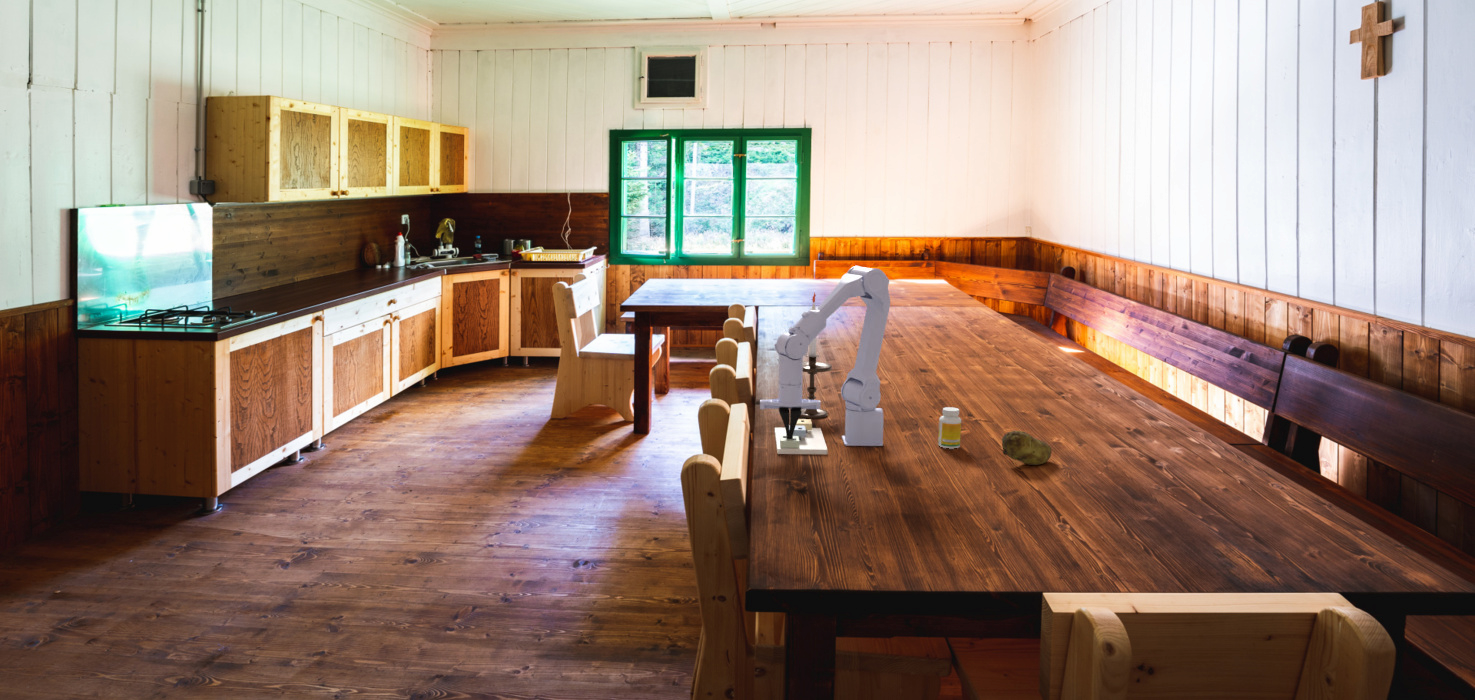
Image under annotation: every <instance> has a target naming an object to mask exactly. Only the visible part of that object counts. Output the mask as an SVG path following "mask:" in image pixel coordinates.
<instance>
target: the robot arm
mask: <svg viewBox="0 0 1475 700" xmlns="http://www.w3.org/2000/svg"><path fill="white" fill-rule="evenodd" d="M889 284H890V279H889V278H888V277H887V275H886V273H885V272H884V271H883V270H881V269H880V268H876V267H875V268H872V267H871V268H870V267H865V266H860V265H855V266H852V267H851V268H849V269H848V270H847V272H846V273H844V274H843V275H842V276H841V278H840V281H839V282H838V284H836V286H835V287H834V288H833V289H832V290H831V292H829V294H828V295H827V296H826V298H824V300H823V301H822V302H821V303H820V304H819V306H818V307H816V308H817V309H816V310H810V309H809V310H807V311H803V313H801V318H800V319H799V320H798V321H797V322H796V323H795V324H794V325H793V326H790V327H789V329H788V332H784V333H782V334H780V335H779V336H778V338H777V341H776V342H775V344H774V349H775V351H776V353H777V355H778V396H777V397H778V398H771V399H767V398H766V399H760V400H759V410H765V409H771V410H772V409H773V410H776V409H778V412H779V416H780V418H781V420H782V423H783V425H784V428H785V429H786V437H787V439H793V433H794V429H795V426H796V424H797V421H798V419H800V415H801V409H816V410H820V409H821V400H820V399H814V400H809V399H808V398H807V399H806V398H803V374H804V372H803V362H804V357H805V356H806V355H807V354H808V352H809V351H808V350H809V346H810V343H811V342H812V341H813V340H814V339H815V338H816V339H817V337H818V336H819V334H820V333H821V332H822V331H824V329H825V328H826V327H827V319H829V317H830V316H832V315H833V314H834V313H835V312H836V311H837V310H838V309H839V308H841V306H842V305H844V303H846V302H847V301H848V300H849V299H850V298H858V297H860V298H861V300H862V302H863V303H864V305H866V310H865V315H864V318H863V319H864V320H863V324H862V325H863V326H862V330H861V335H860V339H859V344H858V348H857V354H856V358H855V361H854V362H855V363H854V367H853V368H852V369H851V370H849V372H848V373H847V376H846V379H845V381H844V382H843V383H842V386H841V388H840V394H841V398H842V399H843V400H844V401H845V403H844V405H845V417H844V418H845V421H844V422H845V423H844V435H841V439H842V443H843V444H844V446H846V447H847V446H849V447H859V446H860V447H883V446H884V410H883V408H881V407H877V406H878V405H879V403H880V401H881V395H882V394H881V390H880V389H881V388H880V387H881V380H880V378H879V376H878V374H877V369H878V364H879V359H880V356H881V355H880V354H881V350H882V345H883V340H884V336H885V331H886V326H887V323H888V322H887V321H888V316H889V312H890V308H891V299H890V297H891V296H890V293H889ZM789 425H790V431H789Z"/></svg>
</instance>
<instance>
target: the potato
mask: <svg viewBox="0 0 1475 700" xmlns="http://www.w3.org/2000/svg"><path fill="white" fill-rule="evenodd" d="M1001 444H1002V450H1003V451H1002V454H1004V455H1005V456H1007V457H1009V458H1010V459H1011V460H1014V461H1018V462H1021V463H1023V464H1024V465H1025V464H1026V465H1029V466H1040V465H1042V464H1045V463H1046V462H1048V461H1049V460H1050V458H1051V457H1052V451H1053V450H1052V447H1051V446H1050V445H1049V444H1048V443H1047V442H1046V441H1043V440H1040V439H1038V438H1036V437H1034V436H1032V434H1030V433H1028V432H1025V431H1022V430H1012V431H1010V432H1007V433H1004V435H1003V436H1002V439H1001Z"/></svg>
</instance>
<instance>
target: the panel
mask: <svg viewBox="0 0 1475 700" xmlns="http://www.w3.org/2000/svg"><path fill="white" fill-rule="evenodd" d="M780 436H786V429H785V427H774V437H775V447H776V451H777V453H776V454H778V455H828V447H827V444H826V441H825V438H824V435H823V431H822V428H821V427H812V430H806V437H799V448H781V447H780Z"/></svg>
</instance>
